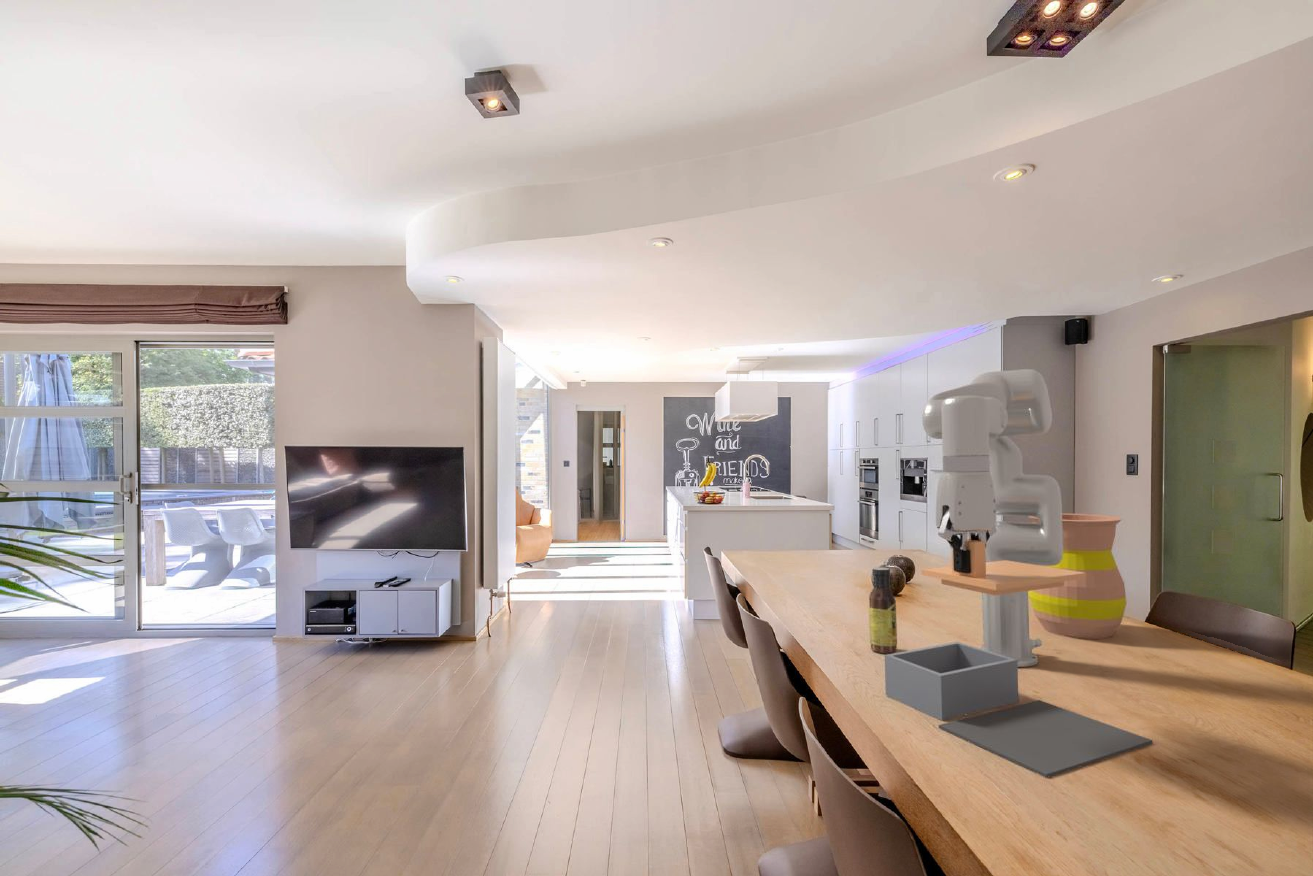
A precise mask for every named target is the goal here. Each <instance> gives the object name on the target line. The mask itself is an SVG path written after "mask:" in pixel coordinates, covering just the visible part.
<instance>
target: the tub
mask: <svg viewBox="0 0 1313 876" xmlns="http://www.w3.org/2000/svg"><path fill="white" fill-rule="evenodd" d="M980 648H981V647H976V646H973V645H970V644H966V643H964V642H961V641H960V642H959V641H953V642H948V643H943V644H938V645H932V646H927V647H922V648H916V649H909V650H905V651H900V652H894V653H887V654H885V655H884V675H885V676H884V677H885V682H884V683H885V684H884V685H885V696H886V695H887V696H886V697H888V696H889V698H890V699H892V698H893V699H892V700H895V701H897V700H898V701H897V702H899V701H900V702H899V703H901V704H903V703H904V705H905V706H908V707H910V708H913V709H915V710H917V711H919V712H921V711H922V713H924V714H926V715H929V716H931V717H933V716H934V717H933V718H935V719H937V718H938V719H937V720H939V719H941V720H943V721H946V720H945V719H947V720H951V719H955V718H958V717H957V716H959V717H963V716H966V715H965V714H967V715H971V713H972V714H975V713H974V712H976V713H980V712H983V711H987V710H992V709H996V708H1000V707H1004V706H1007V705H1011V703H1012V704H1015V703H1018V702H1020V701H1019V672H1018V668H1019V667H1018V665H1017V660H1016V659H1013V658H1009V657H1006V656H1003V655H1000V654H996V653H993V652H990V651H986V650H983V649H980ZM999 706H1000V707H999ZM991 708H992V709H991ZM979 711H980V712H979ZM954 717H955V718H954ZM941 720H940V721H941Z"/></svg>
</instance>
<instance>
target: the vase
mask: <svg viewBox="0 0 1313 876" xmlns="http://www.w3.org/2000/svg"><path fill="white" fill-rule="evenodd" d="M1027 517H1028V519H1030V520H1031V522H1032V523H1040V521H1039V519H1038V518H1036V517H1031V516H1027ZM1122 520H1123V518H1121V517H1119V516H1112V515H1103V514H1091V513H1090V514H1087V513H1062V525H1063V556H1062V560H1061V562H1060V563H1059V564H1057V565H1054V566H1045V567H1052V568H1058V569H1064V570H1071V571H1077V572H1084V573H1086V579H1080V580H1072V581H1064V586H1061V587H1054V588H1046V589H1039V590H1031V591H1028V599H1029V602H1030V604H1031V607H1032V608H1031V609H1032V610H1033V611H1032V612H1033V614H1034V616H1035V618H1036V619H1037V620H1038V622H1039V623H1040V625H1041V626H1042V628H1043V629H1044V630H1045V631H1047V632H1048V633H1051V634H1054V635H1055V634H1056V635H1058V636H1062V635H1063V637H1067V638H1068V637H1069V638H1077V639H1084V640H1085V639H1087V640H1088V639H1089V640H1098V639H1099V640H1101V639H1108V638H1110V637H1112V636H1113V634H1114V633H1115V631H1116V630H1117V629H1118V628H1119V626H1120V625H1121V624H1122V622H1123V617H1124V614H1125V610H1126V607H1127V597H1126V596H1127V595H1126V587H1125V582H1124V580H1123V577H1122V575H1121V572H1120V570H1119V568H1118V565H1117V563H1116V560H1115V557H1114V555H1113V552H1112V549H1113V545H1114V542H1115V539H1116V538H1115V537H1116V530H1117V524H1119V523H1120V522H1121V521H1122ZM1039 566H1040V565H1039Z"/></svg>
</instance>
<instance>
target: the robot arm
mask: <svg viewBox="0 0 1313 876" xmlns="http://www.w3.org/2000/svg"><path fill="white" fill-rule="evenodd" d="M921 420H922V426H923V430H924V432H925V433H926V434H927V436H929V437H930V438H932V439H934V440H935V439H936V440H941V441H942V443H941V445H942V450H941V451H942V474H940V475H939V479H938V481H937V482H938V484H937V490H936V498H935V500H936V501H935V525H936V528H937V529H938V532H937V535H938V536H939V537H940V538H942V539H944V540H946V541H947V543H948V544H949V547H950V549H953V564H954V571H955V572H960V573H966V574H969V573H971V564H970V550H967V548H968V539H970V540H977V541H985V553H986V562H995V561H1004V560H1007V561H1014V562H1020V563H1026V564H1033V565H1040V566H1054V565H1057V564H1059V563H1060V562H1061V560H1062V556H1063V525H1062V514H1063V505H1062V501H1063V500H1062V492H1061V488H1060V485H1059V482H1058V481H1057V480H1056V479H1055V478H1054V477H1053V476H1050V475H1045V474H1025V473H1024V471H1023V454H1022V452H1021V450H1020V448H1019V447H1018V446H1017V445H1016V444H1015V442H1014V441H1013V440H1012V439H1011V438H1009V437H1019V436H1020V437H1021V436H1023V437H1024V436H1040V435H1043V434H1044V435H1045V434H1046V433H1047V432H1049V430H1050V428H1051V426H1052V422H1053V413H1052V407H1051V401H1050V395H1049V392H1048V386H1047V384H1046V381H1045V379H1044V377H1043V376H1042V374H1041V373H1040V372H1038V371H1037V370H1035V369H1030V368H1029V369H1027V368H1024V369H1013V370H1000V371H999V370H996V371H989V372H984V373H981V374H980V375H978V376H976V377H975V378H974V379H973V380H972V381H971V382H970V384H967V385H963V386H960V387H955V388H952V389H949V390H945V391H942V392H939V393H936V394H934V395H933V396H932V397H931V398H930V399H929V400H928V401H927V402H926V404H925V406H924V408H923V411H922V418H921ZM997 516H1006V517H1028V516H1031V517H1036V518H1038V519H1039V521H1040V523H1033V522H1021V521H1003V520H1002V521H999V520H997ZM1028 593H1029V591H1024V592H1016V593H1009V594H1001V595H990V594H985V593H981V601H982V602H981V603H982V604H981V605H982V610H981V613H982V638H983V640H982V643H983V645H982V647H979V648H980V649H983V650H986V651H990V652H993V653H996V654H1000V655H1003V656H1006V657H1009V658H1013V659H1016V660H1017V665H1018V668H1019V667H1020V668H1021V667H1022V668H1023V667H1024V668H1025V667H1026V668H1027V667H1031V666H1035V665H1037V664H1038V662H1039V658H1038V655H1036V653H1033V649H1035V648H1040V647H1042V645H1043V641H1042V639H1041V638H1030V615H1029V612H1030V611H1029V610H1030V609H1029V595H1028Z"/></svg>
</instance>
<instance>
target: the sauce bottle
mask: <svg viewBox="0 0 1313 876" xmlns="http://www.w3.org/2000/svg"><path fill="white" fill-rule="evenodd" d="M872 576H873V584H872V585H873V588H872V590H871V592H870V594H869V595H868V596H869V597H868V599H869V606H868V607H869V608H868V610H869V611H868V612H869V613H868V615H869V619H868V620H869V639H870V641H869V643H870V649H871V650H872V652H875V653H878V652H879V654H893V653H897V650H898V649H897V645H898V631H897V630H898V629H897V627H898V626H897V604H896V603H897V602H896V599H895V596H894V594H893V593H894V592H893V591H892V588H891V583H890V576H891V569H890V568H888V567H872Z"/></svg>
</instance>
